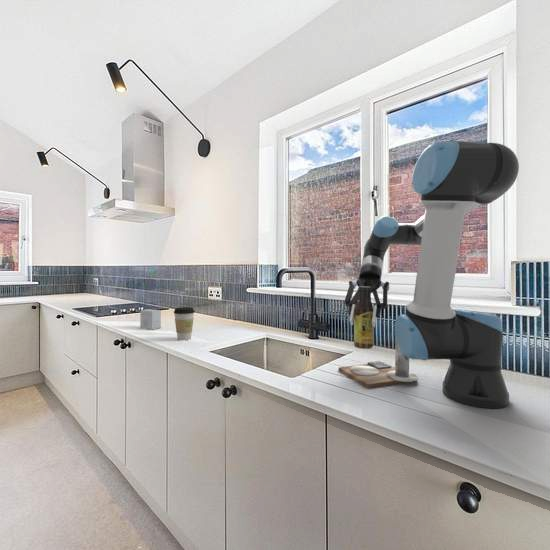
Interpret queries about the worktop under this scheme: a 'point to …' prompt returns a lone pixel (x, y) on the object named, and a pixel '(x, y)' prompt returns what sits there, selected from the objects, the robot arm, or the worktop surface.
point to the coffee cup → (184, 322)
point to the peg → (401, 362)
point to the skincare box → (150, 319)
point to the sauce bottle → (364, 320)
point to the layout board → (375, 374)
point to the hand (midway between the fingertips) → (362, 323)
